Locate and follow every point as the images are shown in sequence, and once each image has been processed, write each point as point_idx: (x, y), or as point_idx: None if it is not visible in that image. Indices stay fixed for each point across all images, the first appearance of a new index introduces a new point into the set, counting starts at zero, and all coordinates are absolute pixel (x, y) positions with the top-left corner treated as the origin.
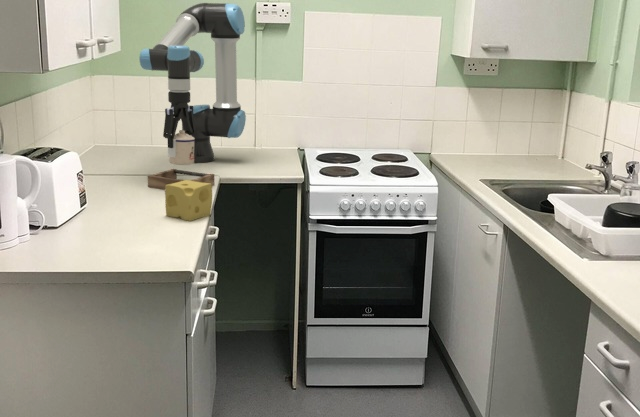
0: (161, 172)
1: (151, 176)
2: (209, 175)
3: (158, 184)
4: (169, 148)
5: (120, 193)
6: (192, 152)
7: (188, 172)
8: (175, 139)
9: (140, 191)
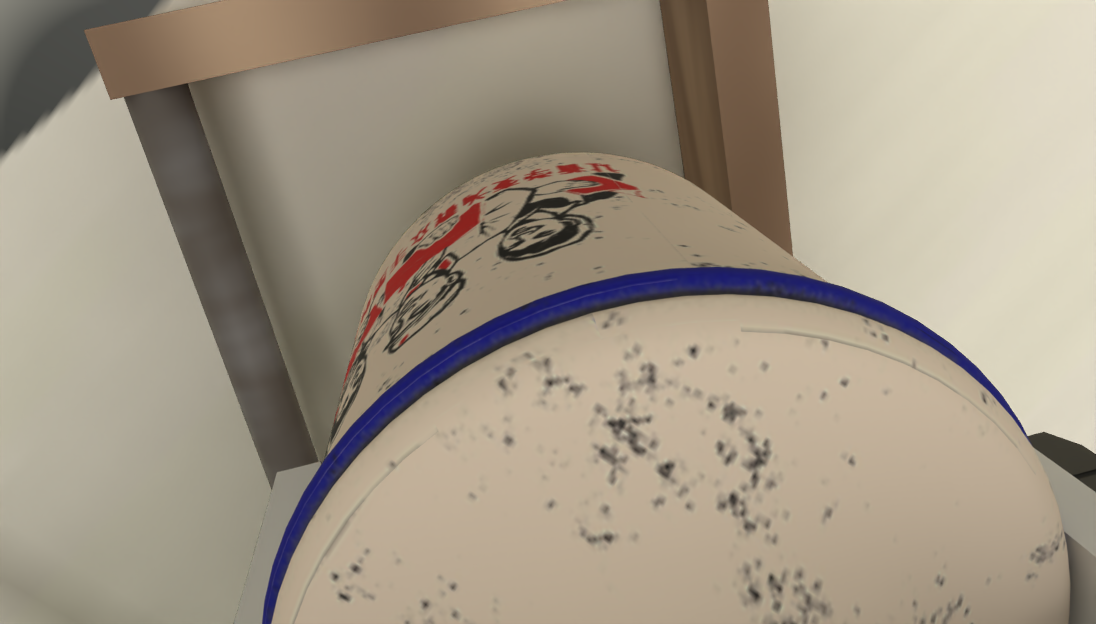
0: None
1: None
2: (212, 19)
3: None
4: None
5: (1089, 429)
6: (542, 207)
7: (294, 418)
8: (1091, 544)
9: None
